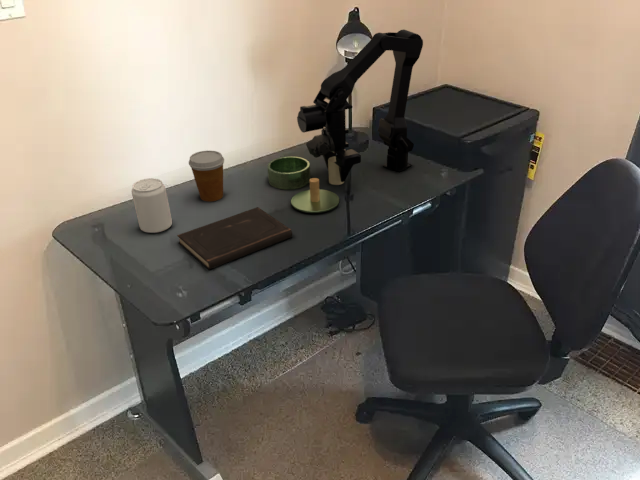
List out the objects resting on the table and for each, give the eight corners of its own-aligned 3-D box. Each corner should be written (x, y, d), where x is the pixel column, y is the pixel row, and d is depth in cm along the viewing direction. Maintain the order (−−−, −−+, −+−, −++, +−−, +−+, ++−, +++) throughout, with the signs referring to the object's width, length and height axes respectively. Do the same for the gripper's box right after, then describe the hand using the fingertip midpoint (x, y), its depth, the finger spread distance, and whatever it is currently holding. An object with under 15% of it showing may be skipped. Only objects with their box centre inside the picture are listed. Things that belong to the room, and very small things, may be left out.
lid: (315, 188, 175) (313, 165, 172) (349, 202, 168) (348, 178, 164) (281, 204, 167) (279, 181, 163) (315, 220, 160) (314, 195, 156)
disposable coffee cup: (187, 200, 169) (180, 160, 163) (207, 186, 177) (201, 147, 170) (216, 206, 166) (210, 166, 160) (235, 192, 174) (230, 152, 167)
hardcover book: (178, 243, 150) (177, 235, 149) (258, 214, 163) (257, 206, 161) (210, 270, 140) (208, 262, 139) (292, 238, 152) (292, 230, 151)
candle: (336, 176, 182) (335, 154, 178) (347, 181, 179) (347, 159, 176) (325, 181, 179) (324, 159, 175) (337, 186, 177) (336, 164, 173)
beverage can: (178, 222, 159) (170, 180, 153) (160, 236, 153) (151, 193, 146) (152, 217, 161) (143, 175, 155) (133, 231, 155) (123, 189, 148)
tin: (290, 168, 187) (289, 153, 184) (319, 179, 180) (318, 163, 178) (260, 181, 179) (258, 165, 177) (288, 193, 173) (287, 177, 170)
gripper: (294, 120, 173) (297, 171, 182) (325, 142, 160) (327, 195, 168) (328, 113, 178) (330, 163, 186) (362, 134, 164) (362, 186, 173)
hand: (336, 176), depth 178 cm, fingers open, 7 cm apart
